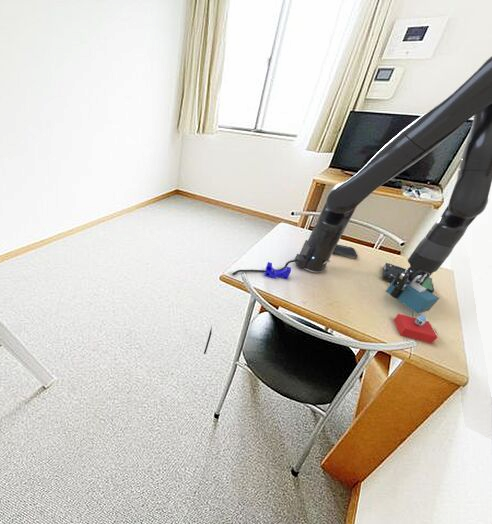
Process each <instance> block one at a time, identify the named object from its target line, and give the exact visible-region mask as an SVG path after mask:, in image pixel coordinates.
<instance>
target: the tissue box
mask: <svg viewBox="0 0 492 524" xmlns="http://www.w3.org/2000/svg"><path fill="white" fill-rule="evenodd" d="M394 280H395V279H394ZM394 280H393V282H394ZM407 281H408V282H410V281H409V280H407ZM393 282H392V283H391V282H390V284H389V286H388V287H387V288H386V289H385V293H386V294H388V295H390V294H391V292H392V291H393V290H394V288H395V287H394V286H393V285H392V284H393ZM404 285H405V284H404ZM395 300H397V301H399V302H400V303H401V304H403V305H404V306H406V307H407V308H409V309H410V310H412V311H413V312H415V313H416V314H418V315H419V314H423V313H426V312H429V311H430V310H431V309H432V308H433V306H434V305H435V304H436V303H437V302H438V300H440V297H439V296H438V295H435V294H434V293H430V292H429V291H427V290H426V288H424V287H423V286H421V285H420V284H418V283H416V282H414V283H413V284H412V285H408V286H407V287H406V288H405V289H404V290H403V292H402V293H401V295H400V296H399V297H398V298H395Z"/></svg>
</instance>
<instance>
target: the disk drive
mask: <svg viewBox="0 0 492 524" xmlns="http://www.w3.org/2000/svg"><path fill="white" fill-rule="evenodd" d="M407 269H408V268H407ZM407 269H406V268H404V267H401V266H398V265H395V264H392V263H388V262H385V264H384V266H383V268H382V275H381V279H382V280H384V281H386V282H387V283H388V282H389V283H390V284H391V283H392V282H393V280H394V279H396V277H397V275H398V273H399V272H403V273H405V271H406V270H407ZM421 286H423V287H424V288H426V290H427V291H429V292H430V293H432V294H434V292H435V287H434V283H433V277H431V276H430V277H429V278H428V279H427V280H426V281H425V282H424V283H423V284H422V285H421Z"/></svg>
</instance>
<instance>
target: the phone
mask: <svg viewBox="0 0 492 524" xmlns="http://www.w3.org/2000/svg"><path fill="white" fill-rule="evenodd" d="M332 255H336V256H340V257H345V258H350V259H354V260H355V259H357V257H358V253H357V251H356V249H355V248H354V247H352V246H347V245H342V244H339V243H337V245H336V247H335V249H334V251H333V253H332Z"/></svg>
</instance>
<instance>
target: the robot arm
mask: <svg viewBox="0 0 492 524" xmlns="http://www.w3.org/2000/svg"><path fill="white" fill-rule="evenodd" d="M471 118H473V120H472V124H471V127H470V130H469V133H468V136H467V140H466V143H465V145H464V149H463V151H462V155H461V159H460V161H459V167H458V171H457V176H456V180H455V184H454V186H453V189H452V192H451V195H450V198H449V200H448V201H449V202H448V205H447V206H446V207H445V209H444V211H443V213H442V214H441V215H440V218H438V220H437V221H436V222H435V223H434V224H433V225H432V226H431V227H430V229H429V231H428V232H427V234H426V235H425V236H424V237H423V238H422V239H421V241H420V242H419V243H418V245H417V246H416V247H415V249H414V250H413V252H412V253H411V254H410V256H409V257H408V258H407V263H408V264H409V267H407V270H406V271H405V273H403V272H399V273H398V275H397V277H396V279H395V280H394V282H393V284H392V285H393V286H394V287H395V288H394V290H393V291H392V292H391V294H389V295H390V296H391V297H392V298H394V299H396V298H398V297H399V296H400V295H401V293H402V292H403V290H404V289H405V288H406V287H407V286H408V285H412V284H413V283H414V282H416V283H418V284H420V285H422V284H423V283H424V282H425V281H426V280H427V279H428V278H429V277H430V278H431V275H433V273H436V272H437V271H438V270H439V269H440V268H441V266H442V265H443V264H444V262H446V259H448V257H449V256H450V255H451V253H452V252H453V250H454V249H455V247H456V246H457V244H458V243H459V242H460V241H461V240H462V238H463V236H464V235H465V233H466V231H467V229H468V228H469V226H470V225H471V224H472V223H473V222H474V220H475V219H476V218H477V217H478V216H479V215H481V214H482V213H483V212H484V211H485V209H486V207H487V205H488V203H489V196H490V191H491V186H492V55H491V56H490V57H488V58H487V59H486V60H485V61H484V62H483V63H482V65H480V66H479V68H478V69H477V70H476V71H474V73H473V74H471V76H470V77H469V78H467V80H466V81H465V82H463V83H462V84H461V85H460V86H459V87H457V89H456V90H455V91H454V92H452V93H451V94H450V95H449V96H448V97H446V98H445V99H444V100H442V101H441V102H440V103H439V104H437V105H436V106H434V107H432V108H431V109H429V110H428V111H427V112H425V113H424V114H422V115H421V116H419V117H418V118H416V119H415V120H414V121H413V122H411V123H410V124H408V125H407V126H406V127H404V128H403V129H402V130H401V131H400V132H399V133H397V135H395V136H394V137H393V138H392V139H390V140H389V141H388V142H387V143H386V144H385V145H384V146H383V147H382V148H380V150H379V151H377V152H376V153H375V154H374V156H373V157H372V158H371V159H370V160H369V161H368V162H367V163H366V164H365V165H364V166H363V167H362V168H361V169H360V170H359V171H358V172H357V173H356V174H354V175H353V176H351V177H350V178H349V179H347V180H346V181H341V182H339V183H337V184H336V185H333V187H332V188H331V189H330V190H329V192H328V193H327V196H326V198H325V203H324V205H323V207H322V210H321V211H320V213H319V215H318V217H317V219H316V221H315V223H314V226H313V228H312V231H311V233H310V234H309V236H308V239H305V241H304V242H303V244H302V245H303V246H302V248H301V249H300V252H299V253H296V255H295V257H294V259H290V260H288V261H287V262H286V263H285V264H284V267H282V268H279V269H277V270H278V271H280V270H284V269H285V268H286V267H288V265H289V264H291V263H295V266H296V267H298V268H300V269H303V270H305V271H307V272H309V273H313V274H314V273H315V274H321V273H323V272H324V271H325V268H326V267H327V264H328V263H330V262H331V257H332V255H333V254H332V253H333V251H334V249H335V247H336V245H337V244H339V241H340V239H341V238H342V236H343V235H344V232H345V230H346V228H347V226H348V224H349V222H350V220H351V219H352V216H353V214H354V213H355V211H356V209H357V208H358V206H359V205H360V204H361V203H362V202H363V201H364V200H365V199H367V198H368V197H369V195H371V194H372V193H373V192H375V191H376V190H377V189H378V188H380V187H382V186H383V185H384V184H386V183H388V182H389V181H391V180H392V179H394V178H395V177H397V176H398V175H400V174H401V173H402V172H404V171H406V170H407V169H408V168H411V167H412V166H413V165H414V164H416V163H418V162H419V160H421V159H423V158H425V156H427V155H428V154H429V153H431V152H432V151H433V150H434V149H436V148H437V147H438V146H440V145H441V144H442V143H443V142H444V141H445V140H447V139H448V138H449V137H451V136H452V135H453V134H454V133H455V132H456V131H457V130H458V129H459V128H460V127H462V126H463V125H464V124H465V123H467V121H469V120H470V119H471ZM264 272H265V269H237V270H236V271H234V272H232V273H231V275H232V276H235V275H237V274H238V273H264ZM407 280H409V281H410V282H408V281H407ZM404 284H405V285H404ZM212 330H213V329H212V325H211V326H210V330H209V333H208V337H207V341H206V345H205V348H204V351H203V355H206V354H207V350H208V347H209V344H210V340H211V336H212V333H213V332H212Z"/></svg>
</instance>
